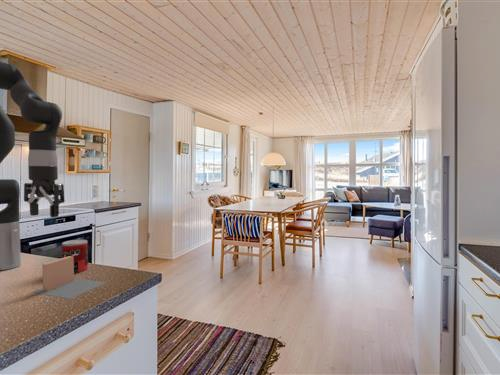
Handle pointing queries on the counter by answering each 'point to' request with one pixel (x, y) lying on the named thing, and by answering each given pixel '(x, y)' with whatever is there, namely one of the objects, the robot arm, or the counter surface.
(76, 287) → the mat
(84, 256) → the canned food
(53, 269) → the block
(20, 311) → the counter surface
